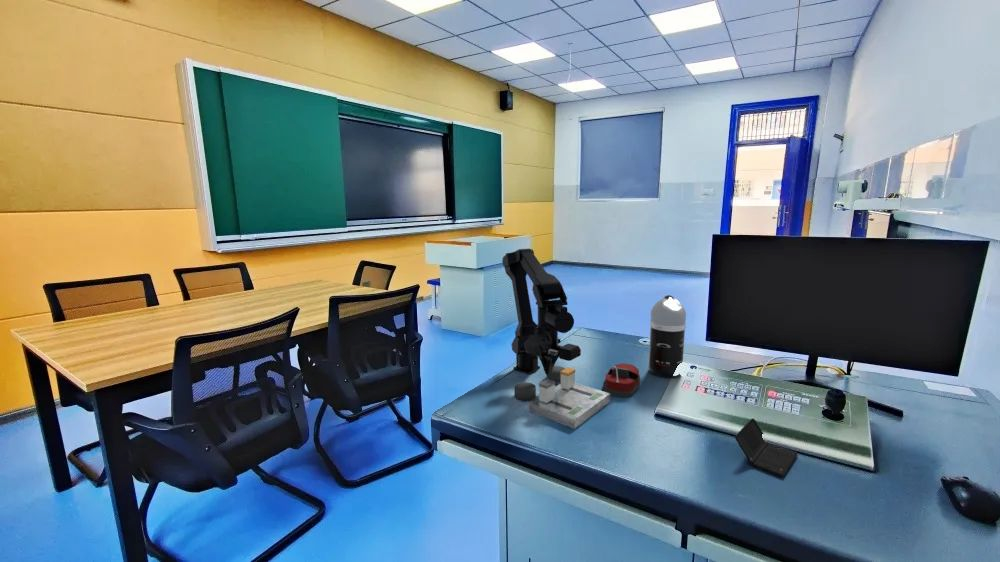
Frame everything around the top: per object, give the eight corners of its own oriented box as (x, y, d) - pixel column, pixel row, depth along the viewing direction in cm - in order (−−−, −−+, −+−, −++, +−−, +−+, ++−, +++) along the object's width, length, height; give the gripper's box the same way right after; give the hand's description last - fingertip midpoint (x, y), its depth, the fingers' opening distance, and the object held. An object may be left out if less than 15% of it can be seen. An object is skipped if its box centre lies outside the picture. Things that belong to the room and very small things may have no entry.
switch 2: (560, 387, 119) (560, 371, 118) (567, 383, 122) (567, 367, 121) (567, 389, 118) (568, 373, 117) (575, 385, 120) (575, 369, 119)
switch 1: (539, 400, 112) (539, 383, 111) (547, 395, 115) (547, 378, 114) (546, 403, 110) (546, 385, 109) (554, 398, 113) (555, 381, 112)
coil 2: (542, 379, 131) (542, 370, 131) (553, 373, 136) (553, 364, 135) (558, 384, 127) (558, 375, 127) (569, 378, 132) (569, 369, 131)
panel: (528, 411, 112) (528, 402, 112) (566, 388, 125) (566, 379, 125) (574, 429, 103) (574, 419, 102) (609, 402, 116) (610, 393, 115)
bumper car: (644, 377, 132) (645, 346, 130) (632, 405, 114) (633, 370, 113) (612, 372, 136) (613, 342, 134) (596, 398, 119) (596, 364, 117)
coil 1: (510, 397, 120) (510, 387, 120) (523, 390, 125) (523, 380, 124) (527, 403, 116) (526, 393, 116) (540, 395, 121) (540, 386, 120)
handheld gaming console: (796, 475, 82) (764, 425, 85) (759, 485, 86) (730, 437, 89) (800, 454, 91) (770, 410, 94) (766, 465, 95) (739, 422, 98)
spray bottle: (685, 369, 136) (690, 293, 131) (679, 381, 128) (684, 300, 123) (652, 364, 142) (655, 290, 137) (644, 374, 133) (647, 297, 128)
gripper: (504, 323, 121) (505, 375, 124) (559, 336, 109) (559, 393, 112) (528, 315, 129) (529, 363, 132) (582, 326, 117) (581, 379, 120)
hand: (548, 374), depth 124 cm, fingers closed
